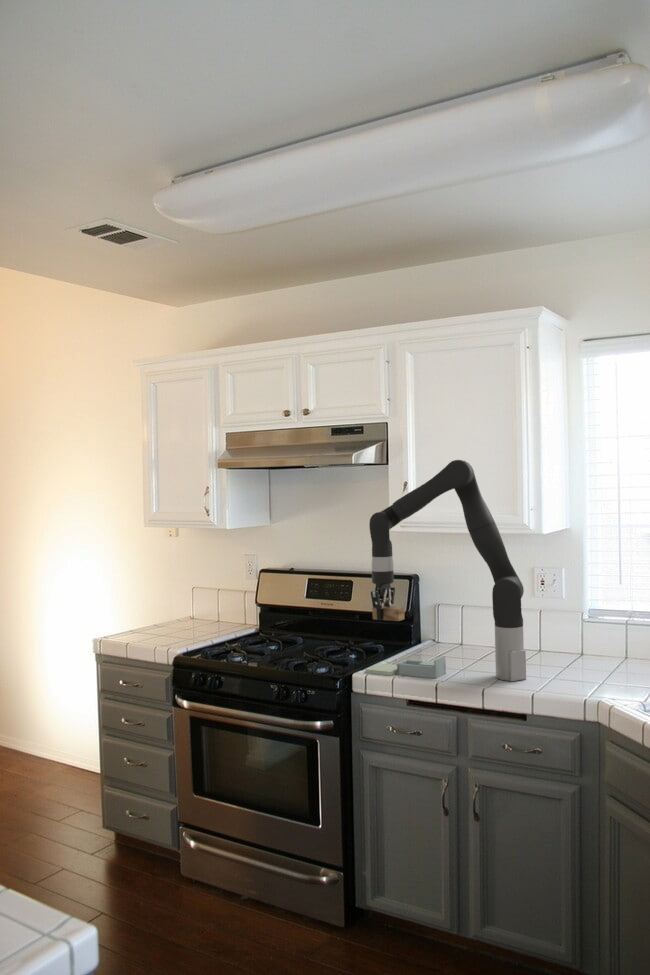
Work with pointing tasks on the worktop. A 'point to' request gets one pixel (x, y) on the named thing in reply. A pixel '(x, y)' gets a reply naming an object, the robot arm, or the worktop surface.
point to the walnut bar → (390, 613)
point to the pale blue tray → (423, 668)
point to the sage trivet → (382, 669)
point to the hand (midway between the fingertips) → (383, 618)
